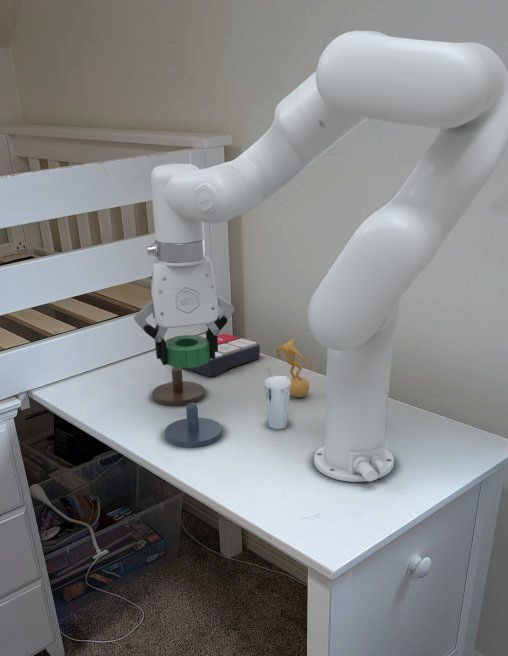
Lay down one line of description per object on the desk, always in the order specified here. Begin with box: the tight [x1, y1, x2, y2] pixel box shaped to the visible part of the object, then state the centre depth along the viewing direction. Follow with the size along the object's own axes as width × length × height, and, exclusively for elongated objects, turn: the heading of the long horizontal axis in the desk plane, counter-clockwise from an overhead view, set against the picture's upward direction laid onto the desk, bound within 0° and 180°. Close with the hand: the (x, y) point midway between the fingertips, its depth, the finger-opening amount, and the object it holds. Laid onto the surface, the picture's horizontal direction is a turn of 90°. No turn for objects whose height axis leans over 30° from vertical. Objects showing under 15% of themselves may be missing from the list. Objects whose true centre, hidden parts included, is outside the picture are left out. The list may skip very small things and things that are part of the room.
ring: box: [165, 334, 211, 369], centre depth 123 cm, size 7×7×3 cm
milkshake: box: [264, 366, 291, 430], centre depth 130 cm, size 4×5×10 cm
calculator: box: [185, 333, 261, 378], centre depth 160 cm, size 11×4×15 cm
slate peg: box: [164, 402, 223, 448], centre depth 129 cm, size 10×10×6 cm
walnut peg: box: [152, 366, 205, 407], centre depth 144 cm, size 10×10×6 cm
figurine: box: [276, 338, 312, 398], centre depth 140 cm, size 8×6×12 cm
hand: (187, 358), depth 124 cm, fingers closed on ring, 7 cm apart
